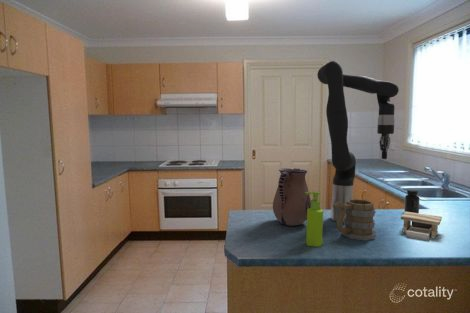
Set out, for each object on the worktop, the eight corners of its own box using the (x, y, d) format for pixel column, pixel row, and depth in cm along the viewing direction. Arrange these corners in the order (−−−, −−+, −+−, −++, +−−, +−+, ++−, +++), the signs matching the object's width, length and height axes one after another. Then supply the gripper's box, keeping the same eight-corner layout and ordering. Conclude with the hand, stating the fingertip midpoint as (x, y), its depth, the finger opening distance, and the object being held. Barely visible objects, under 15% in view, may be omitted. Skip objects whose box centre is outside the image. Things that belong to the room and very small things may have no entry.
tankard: (360, 229, 143) (361, 195, 142) (382, 238, 131) (384, 201, 130) (321, 233, 136) (322, 198, 135) (341, 243, 124) (342, 205, 123)
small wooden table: (438, 238, 132) (439, 222, 131) (399, 231, 140) (400, 216, 139) (440, 232, 141) (441, 216, 140) (404, 225, 149) (405, 211, 148)
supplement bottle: (417, 212, 175) (418, 189, 174) (420, 215, 169) (421, 192, 168) (403, 210, 177) (404, 188, 176) (405, 213, 171) (406, 191, 170)
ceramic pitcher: (314, 220, 155) (316, 168, 153) (304, 233, 136) (305, 173, 134) (278, 216, 163) (279, 166, 160) (264, 227, 143) (265, 171, 141)
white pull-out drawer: (428, 240, 129) (428, 234, 129) (405, 236, 134) (406, 231, 134) (431, 231, 142) (431, 225, 141) (410, 227, 146) (410, 222, 146)
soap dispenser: (301, 241, 126) (303, 190, 125) (318, 241, 127) (320, 190, 125) (306, 246, 121) (307, 193, 119) (324, 246, 121) (326, 193, 119)
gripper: (391, 124, 155) (389, 160, 157) (396, 124, 166) (395, 158, 167) (374, 124, 160) (372, 159, 161) (381, 124, 170) (379, 157, 172)
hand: (384, 158), depth 164 cm, fingers closed
